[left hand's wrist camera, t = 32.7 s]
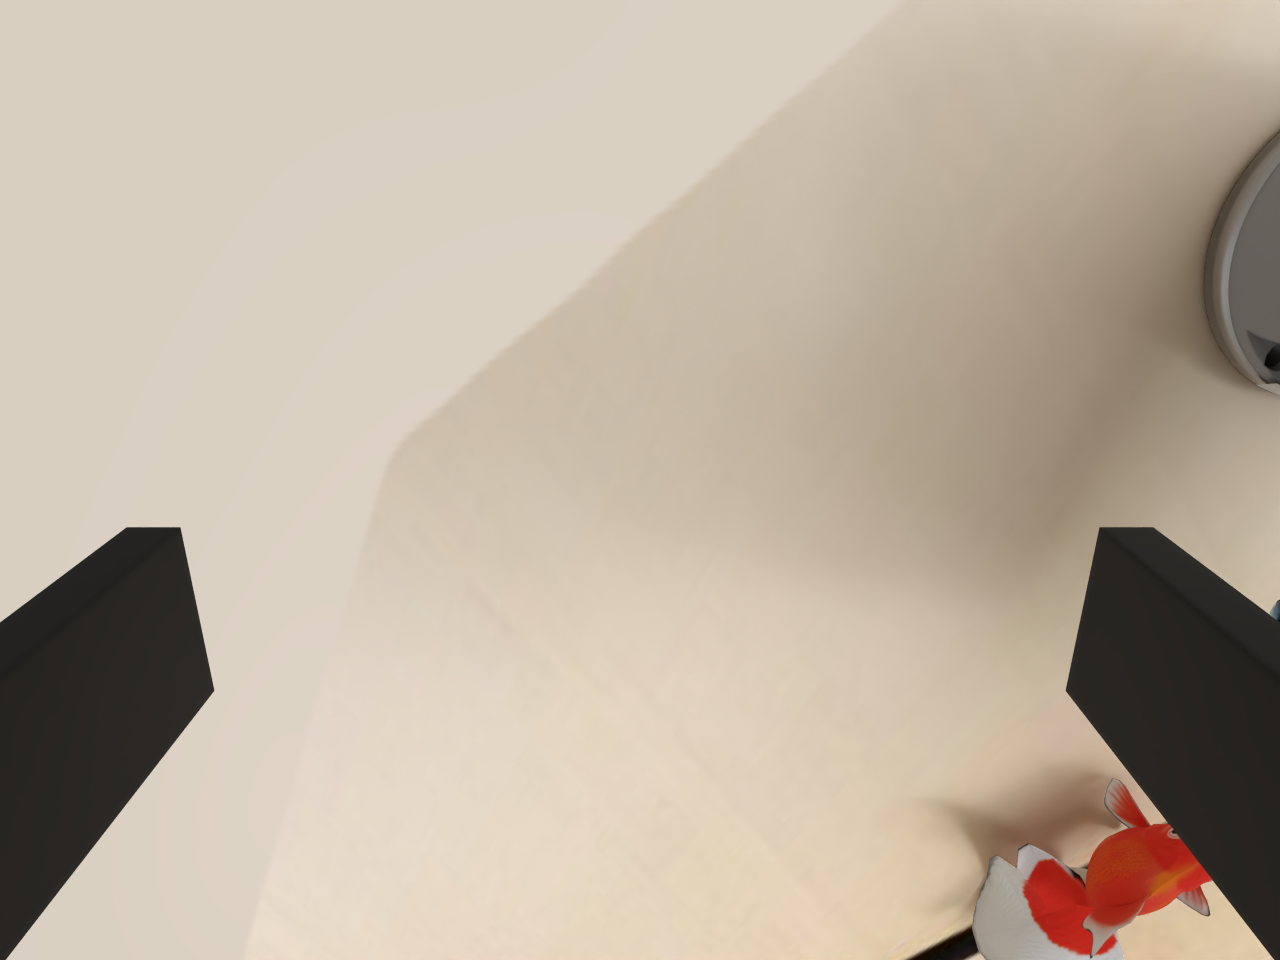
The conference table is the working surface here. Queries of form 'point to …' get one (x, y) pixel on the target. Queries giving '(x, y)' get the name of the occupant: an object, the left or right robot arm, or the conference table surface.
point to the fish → (1085, 892)
